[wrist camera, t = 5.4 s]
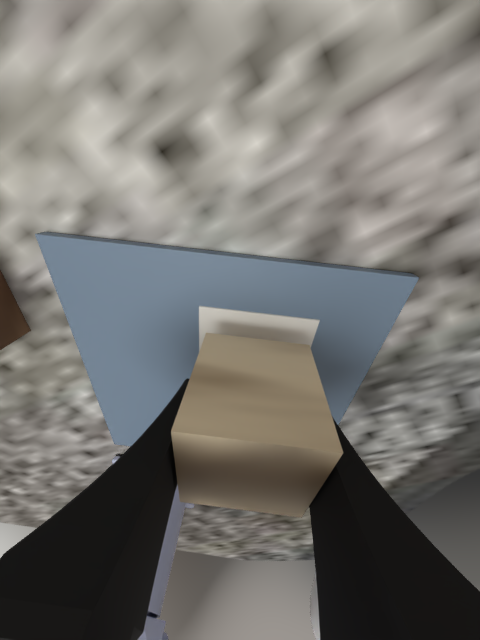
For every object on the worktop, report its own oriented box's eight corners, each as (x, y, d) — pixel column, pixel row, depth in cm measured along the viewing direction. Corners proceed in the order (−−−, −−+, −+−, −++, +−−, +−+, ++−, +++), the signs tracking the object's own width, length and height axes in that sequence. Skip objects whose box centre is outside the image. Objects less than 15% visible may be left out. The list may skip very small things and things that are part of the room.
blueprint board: (312, 462, 20) (314, 470, 20) (118, 437, 20) (113, 445, 20) (411, 273, 11) (420, 278, 10) (45, 231, 11) (33, 234, 10)
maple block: (287, 410, 13) (301, 517, 9) (205, 400, 13) (179, 501, 9) (309, 345, 11) (343, 452, 6) (206, 332, 11) (171, 431, 6)
